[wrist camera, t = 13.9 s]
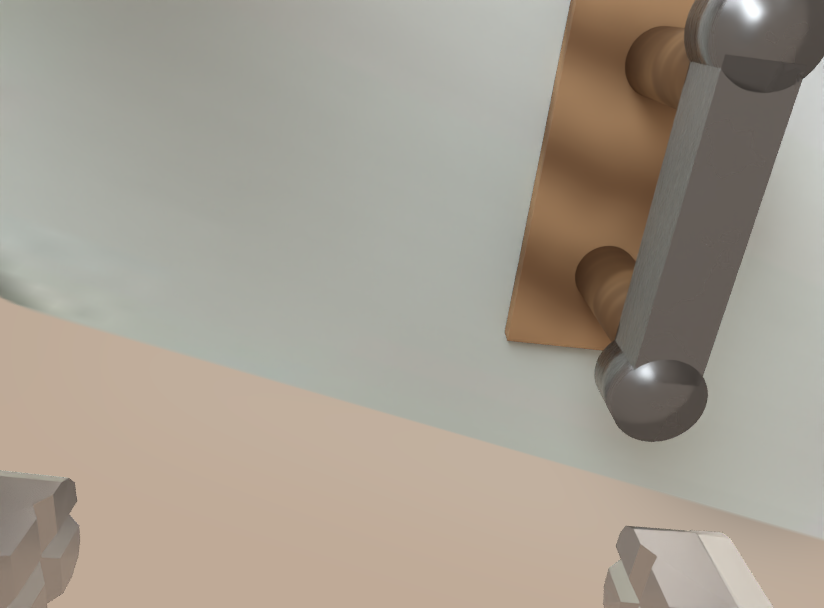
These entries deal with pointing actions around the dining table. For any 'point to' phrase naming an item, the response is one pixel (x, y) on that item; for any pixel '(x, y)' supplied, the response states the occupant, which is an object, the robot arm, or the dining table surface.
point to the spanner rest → (598, 169)
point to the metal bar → (705, 205)
